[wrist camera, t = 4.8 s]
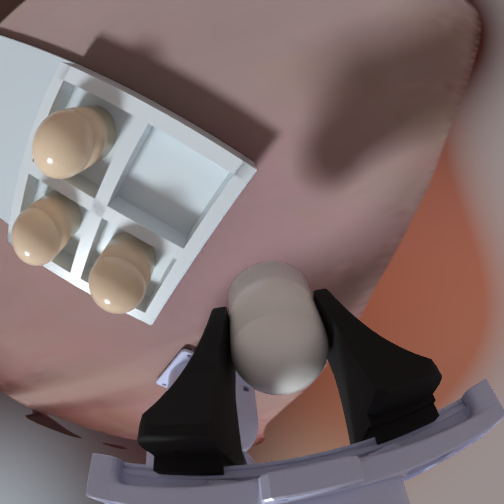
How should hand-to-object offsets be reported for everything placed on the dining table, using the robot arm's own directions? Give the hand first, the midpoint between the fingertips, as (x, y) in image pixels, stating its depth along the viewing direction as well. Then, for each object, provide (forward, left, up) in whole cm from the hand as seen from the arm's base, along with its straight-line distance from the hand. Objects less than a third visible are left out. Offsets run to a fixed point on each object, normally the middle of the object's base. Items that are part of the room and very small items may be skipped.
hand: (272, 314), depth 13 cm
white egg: (0, 0, -2) cm, 2 cm away
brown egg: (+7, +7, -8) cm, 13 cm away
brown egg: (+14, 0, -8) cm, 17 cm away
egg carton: (+18, +3, -9) cm, 20 cm away
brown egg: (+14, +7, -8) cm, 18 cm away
